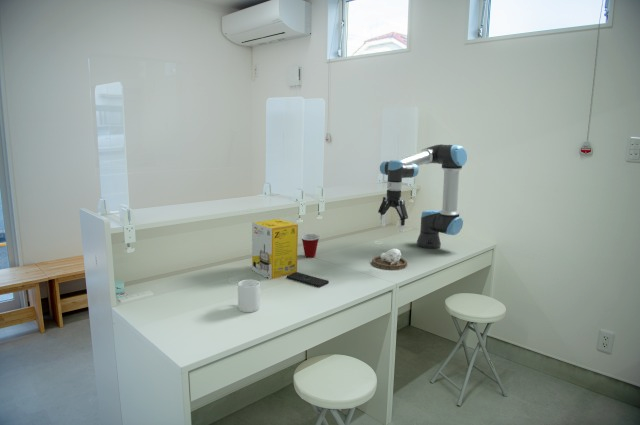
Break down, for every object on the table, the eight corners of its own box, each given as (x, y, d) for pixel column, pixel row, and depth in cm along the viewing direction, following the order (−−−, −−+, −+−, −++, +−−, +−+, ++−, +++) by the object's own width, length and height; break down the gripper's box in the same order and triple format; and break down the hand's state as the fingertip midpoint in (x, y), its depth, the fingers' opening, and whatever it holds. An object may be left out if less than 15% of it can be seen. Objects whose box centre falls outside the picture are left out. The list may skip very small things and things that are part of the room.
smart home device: (296, 271, 213) (329, 280, 202) (296, 274, 213) (329, 284, 202) (285, 275, 206) (319, 285, 195) (285, 279, 207) (319, 288, 195)
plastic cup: (296, 257, 241) (297, 236, 239) (306, 252, 250) (306, 232, 248) (313, 260, 236) (314, 239, 234) (322, 255, 245) (323, 235, 243)
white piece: (395, 250, 225) (377, 247, 234) (395, 266, 226) (377, 262, 235) (402, 248, 229) (384, 245, 238) (402, 263, 230) (384, 260, 239)
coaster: (389, 257, 245) (390, 254, 245) (413, 266, 231) (413, 262, 230) (365, 262, 235) (365, 258, 235) (389, 271, 220) (389, 268, 220)
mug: (247, 300, 179) (247, 275, 177) (264, 309, 171) (264, 283, 168) (229, 305, 173) (229, 280, 171) (246, 315, 165) (246, 288, 163)
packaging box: (252, 270, 216) (252, 222, 212) (277, 264, 227) (278, 218, 222) (270, 279, 205) (271, 228, 200) (297, 272, 215) (297, 224, 211)
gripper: (373, 187, 233) (371, 224, 237) (406, 193, 213) (403, 234, 217) (383, 186, 237) (381, 223, 241) (416, 192, 217) (413, 232, 221)
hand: (391, 228), depth 229 cm, fingers open, 13 cm apart
